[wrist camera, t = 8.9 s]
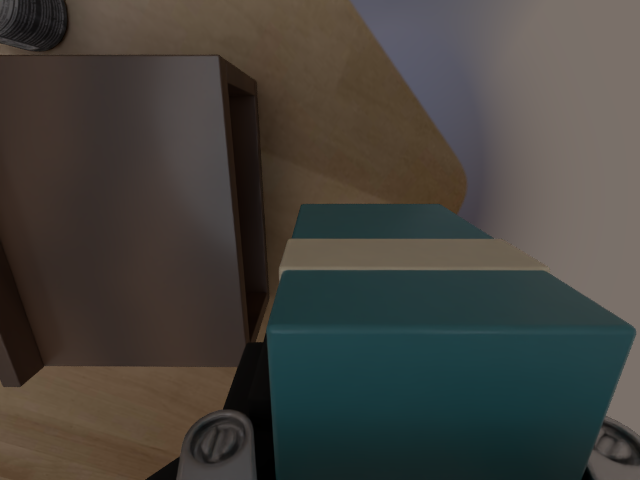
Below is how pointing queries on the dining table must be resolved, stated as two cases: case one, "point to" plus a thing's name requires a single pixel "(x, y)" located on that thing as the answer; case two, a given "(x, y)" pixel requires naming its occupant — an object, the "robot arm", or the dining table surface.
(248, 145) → the shelf
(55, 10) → the pill bottle
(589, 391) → the block
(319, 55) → the dining table surface
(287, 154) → the dining table surface
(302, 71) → the dining table surface
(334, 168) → the dining table surface
